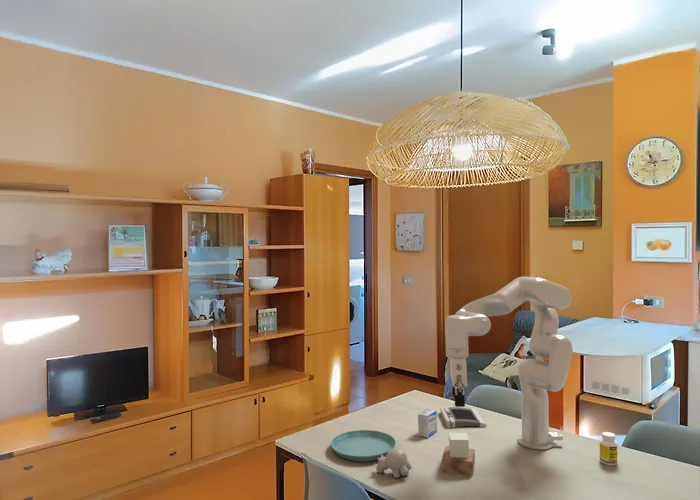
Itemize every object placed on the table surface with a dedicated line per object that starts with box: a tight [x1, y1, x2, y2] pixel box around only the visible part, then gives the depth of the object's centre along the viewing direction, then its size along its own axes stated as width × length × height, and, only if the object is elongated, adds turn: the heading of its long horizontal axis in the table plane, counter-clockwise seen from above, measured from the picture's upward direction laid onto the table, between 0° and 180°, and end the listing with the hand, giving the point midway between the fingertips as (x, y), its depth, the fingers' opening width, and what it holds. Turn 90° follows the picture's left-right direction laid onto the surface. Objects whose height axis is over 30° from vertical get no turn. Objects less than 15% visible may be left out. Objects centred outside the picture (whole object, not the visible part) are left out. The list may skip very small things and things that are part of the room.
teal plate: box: [330, 429, 397, 463], centre depth 185 cm, size 24×24×3 cm
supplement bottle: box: [599, 431, 618, 466], centre depth 170 cm, size 5×5×10 cm
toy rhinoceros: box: [374, 447, 412, 479], centre depth 166 cm, size 7×12×8 cm, turn 65°
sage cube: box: [448, 432, 470, 458], centre depth 169 cm, size 6×6×6 cm
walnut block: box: [441, 445, 476, 477], centre depth 169 cm, size 10×10×5 cm
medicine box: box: [417, 408, 438, 439], centre depth 198 cm, size 8×4×9 cm, turn 143°
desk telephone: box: [439, 406, 487, 429], centre depth 212 cm, size 17×5×16 cm
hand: (458, 401), depth 170 cm, fingers open, 9 cm apart
